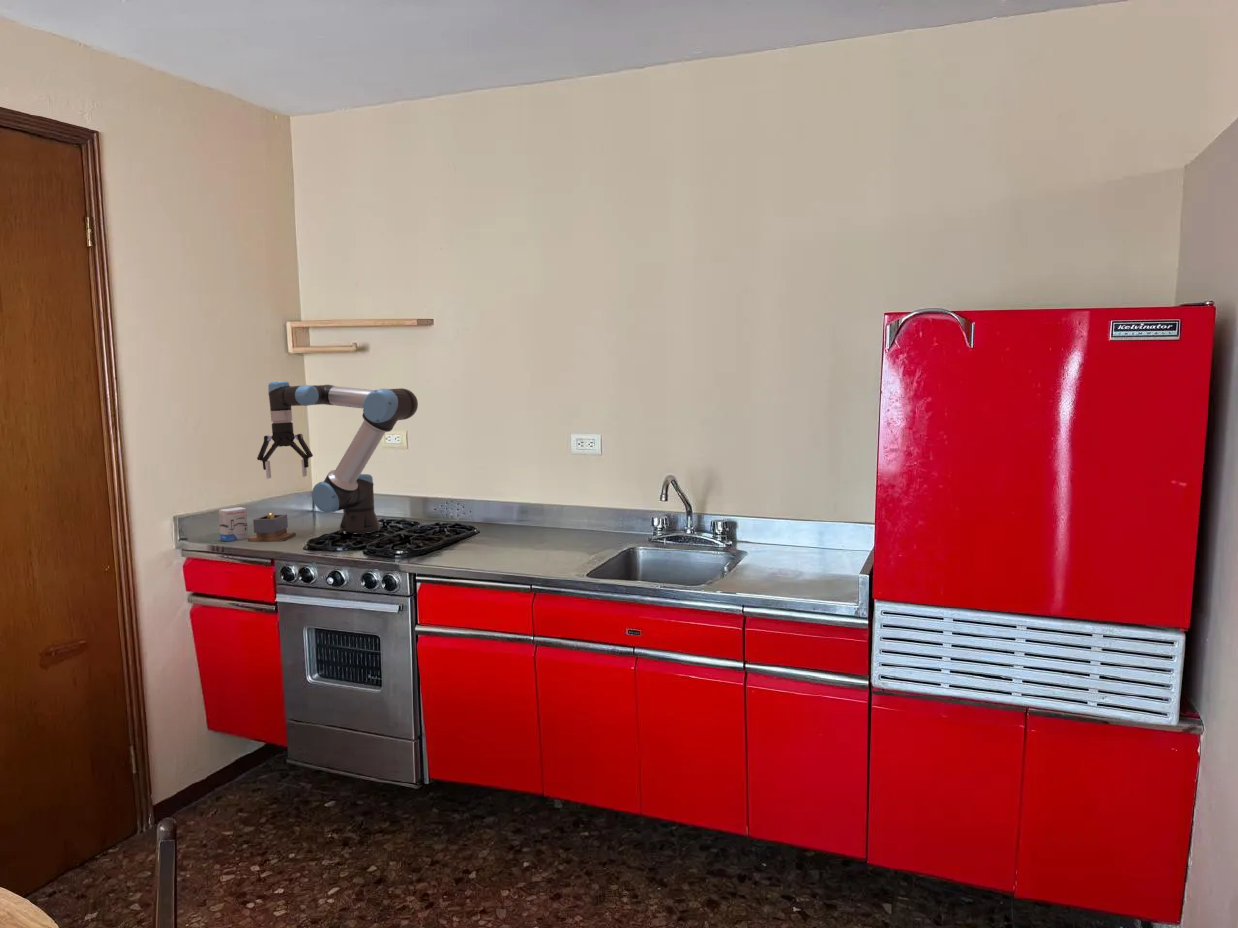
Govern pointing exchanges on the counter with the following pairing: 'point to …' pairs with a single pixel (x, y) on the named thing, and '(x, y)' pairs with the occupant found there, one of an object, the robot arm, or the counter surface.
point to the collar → (270, 524)
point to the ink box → (233, 524)
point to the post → (270, 515)
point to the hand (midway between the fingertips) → (286, 477)
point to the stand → (272, 536)
